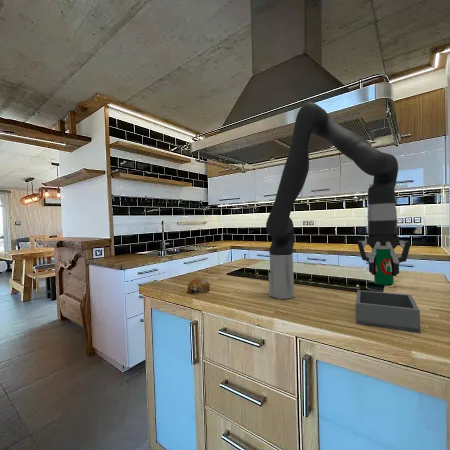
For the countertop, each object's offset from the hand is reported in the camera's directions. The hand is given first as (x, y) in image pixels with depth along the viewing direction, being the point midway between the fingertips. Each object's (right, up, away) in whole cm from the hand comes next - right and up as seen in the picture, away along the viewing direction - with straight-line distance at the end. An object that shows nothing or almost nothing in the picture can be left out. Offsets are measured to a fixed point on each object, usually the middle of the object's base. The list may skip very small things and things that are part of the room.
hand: (383, 274), depth 77 cm
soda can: (0, -3, 0) cm, 3 cm away
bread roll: (-60, -15, +39) cm, 73 cm away
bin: (0, -13, 0) cm, 13 cm away
